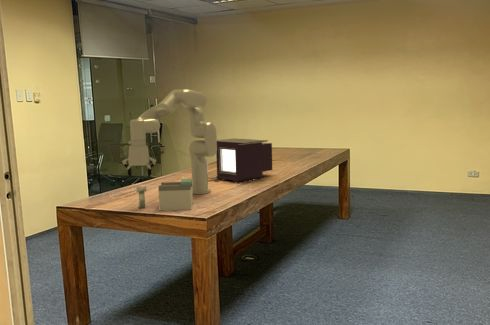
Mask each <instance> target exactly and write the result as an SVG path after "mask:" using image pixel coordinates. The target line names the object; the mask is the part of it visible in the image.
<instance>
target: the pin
mask: <svg viewBox="0 0 490 325" xmlns="http://www.w3.org/2000/svg"><path fill="white" fill-rule="evenodd" d="M135 190H136V193H138V204H139V206H138V208H139V209H141V210H143V209H144V210H145V209H146V198H145V197H146V196H145V192H147V186H137V187H135Z"/></svg>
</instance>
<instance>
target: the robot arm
mask: <svg viewBox="0 0 490 325" xmlns="http://www.w3.org/2000/svg"><path fill="white" fill-rule="evenodd" d="M207 101H208V100H207V96H206V94H204V93H203V92H200V91H196V90H192V89H186V88H183V89H173V90H172V91H170V92H169V93H168V94H167V95H166V96H165V97H164V98H163V99H162V100H161V101H160V102H159V103H158V104H156V105H154V106H152V107H150V108H149V109H147V110H145V111H144V112H143V113H142V114H140V115H139V116H138V117H137V118H136V119H131V120H130V121H129V126H130V127H129V130H130V140H128V141H127V144H128V145H130V146H128V157H126V158H125V159H123V160H121V162H122V164H123V167H125V168H126V170H127V176H128V177H129V178H131V177H132V176H133V173H132V167H140V166H142V167H143V166H146V167H147V177H149V178H150V177H151V176H152V168H153V167H154V166H155V164H156V162H157V159H155V158H154V157H151V156H150V152H149V148H148V145H147V137H146V134H155V133H158V131H159V130H160V128H161V123H160V121H159V120H161V119H164V118H167V117H170V115H172V114H173V113H174V112H175V111H176V109H178V108H179V106H182V107H183V108H185V110H186V111H187V113H188V115H189V126H190V128H189V129H190V135H191V137H193V138H197V139H196V140H193V141H191V142H190V143H189V145H188V150H189V155H190V166H191V179H192V192H193V195H205V194H210V193H211V192H212V190H211V189H210V188H209V175H208V173H209V172H208V161H207V158H206V157H209V158H210V157H211V158H212V157H215V155H216V152H217V140H218V138H217V136H218V135H217V129H216V126H215V124H214V123H213V122H210V121H205V114H204V110H203V107H205V106H206V105H207ZM202 139H203V140H202ZM150 161H151V162H152V163H151V164H150ZM127 162H128V164H127Z"/></svg>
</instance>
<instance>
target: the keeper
mask: <svg viewBox="0 0 490 325" xmlns="http://www.w3.org/2000/svg"><path fill="white" fill-rule="evenodd" d="M179 182H180V185H190V184H191V182H192V178H182V179H181V180H180V181H179Z"/></svg>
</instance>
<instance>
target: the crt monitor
mask: <svg viewBox="0 0 490 325" xmlns="http://www.w3.org/2000/svg"><path fill="white" fill-rule="evenodd" d="M215 155H216V180H218V181H222V180H223V181H229V180H230V181H232V183H235V182H237V183H236V184H240V183H239V182H242V183H245V182H244V181H247V182H250V181H249V180H252V181H254V180H253V179H257V180H260V179H259V178H262V179H263V177H264V175H263V173H264V172H268V171H273V143H272V142H269V140H267V139H249V138H225V139H217V152H216V154H215ZM227 179H228V180H227Z"/></svg>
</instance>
